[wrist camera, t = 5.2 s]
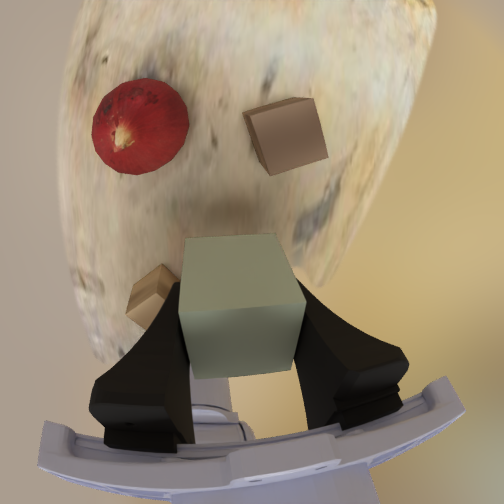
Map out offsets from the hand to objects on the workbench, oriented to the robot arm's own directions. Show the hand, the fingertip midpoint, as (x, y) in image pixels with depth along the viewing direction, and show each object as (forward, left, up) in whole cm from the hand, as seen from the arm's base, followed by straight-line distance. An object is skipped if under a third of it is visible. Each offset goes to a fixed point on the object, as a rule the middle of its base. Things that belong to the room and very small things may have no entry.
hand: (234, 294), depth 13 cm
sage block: (0, 0, -2) cm, 2 cm away
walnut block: (+7, -4, -10) cm, 13 cm away
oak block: (-7, +6, -10) cm, 14 cm away
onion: (+8, +5, -10) cm, 14 cm away
